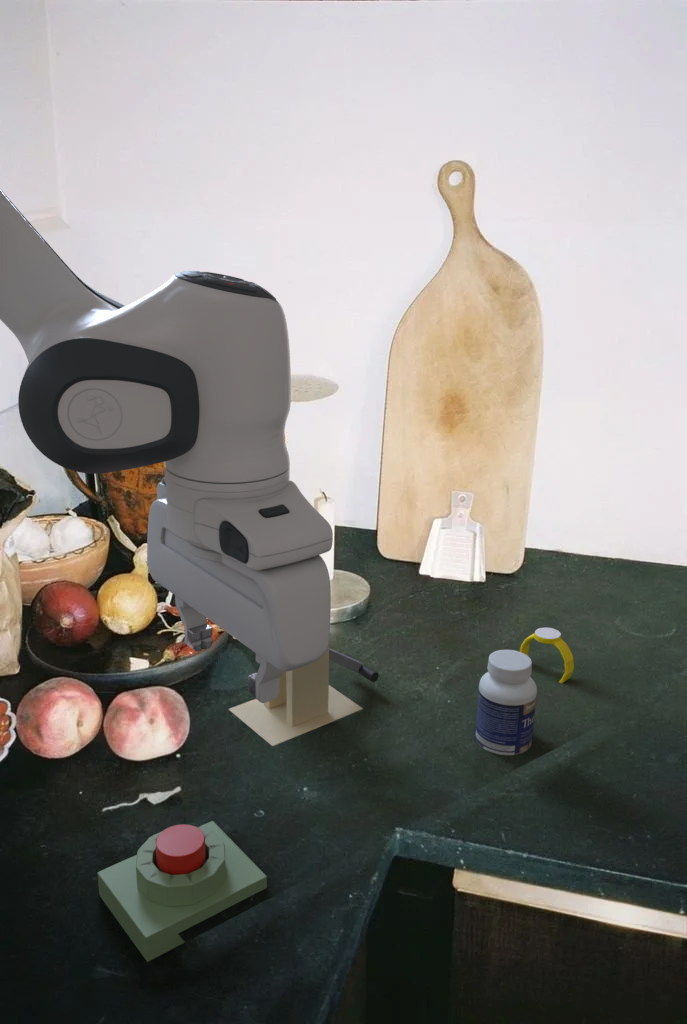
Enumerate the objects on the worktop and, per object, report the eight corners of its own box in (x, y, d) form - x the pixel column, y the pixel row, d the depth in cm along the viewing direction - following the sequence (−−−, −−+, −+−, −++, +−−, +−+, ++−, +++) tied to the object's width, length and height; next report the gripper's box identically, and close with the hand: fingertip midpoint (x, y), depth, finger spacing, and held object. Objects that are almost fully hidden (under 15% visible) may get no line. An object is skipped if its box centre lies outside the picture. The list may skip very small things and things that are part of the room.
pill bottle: (529, 769, 87) (538, 677, 84) (471, 760, 88) (478, 669, 85) (532, 737, 92) (541, 649, 89) (477, 729, 93) (484, 642, 90)
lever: (342, 669, 100) (353, 649, 100) (372, 689, 96) (383, 668, 97) (266, 636, 92) (277, 614, 92) (295, 656, 88) (307, 633, 88)
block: (147, 962, 65) (144, 917, 64) (99, 895, 71) (95, 852, 70) (267, 899, 71) (267, 856, 70) (213, 842, 77) (212, 801, 76)
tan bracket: (316, 685, 100) (317, 594, 97) (363, 718, 95) (366, 622, 91) (228, 719, 94) (225, 622, 90) (272, 757, 88) (271, 655, 84)
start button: (171, 883, 67) (169, 863, 67) (148, 855, 70) (146, 836, 69) (214, 862, 70) (213, 843, 69) (190, 836, 72) (189, 817, 72)
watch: (575, 687, 101) (580, 638, 99) (561, 696, 99) (567, 647, 97) (527, 667, 105) (532, 619, 103) (513, 676, 103) (518, 628, 101)
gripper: (123, 473, 74) (131, 630, 78) (271, 557, 59) (269, 745, 64) (193, 460, 77) (196, 611, 82) (349, 536, 63) (342, 715, 67)
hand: (229, 670), depth 73 cm, fingers open, 8 cm apart
